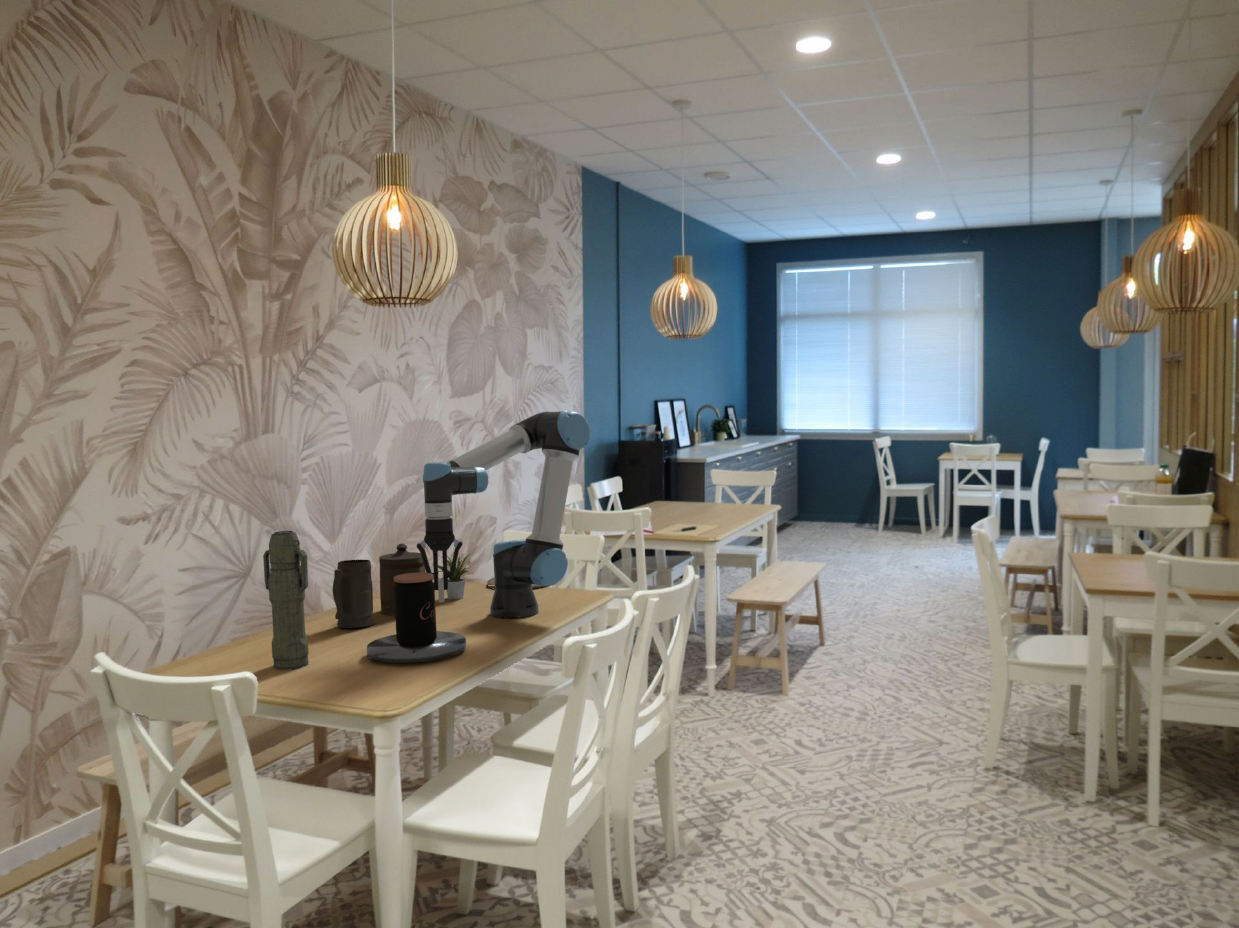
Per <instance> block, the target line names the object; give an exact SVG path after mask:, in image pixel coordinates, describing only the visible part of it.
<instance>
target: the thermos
mask: <svg viewBox="0 0 1239 928" xmlns="http://www.w3.org/2000/svg"><path fill="white" fill-rule="evenodd" d="M262 559H263V575H264V586H265V590H268V599H269V602H270V603H271V616H272V618H271V619H272V620H271V621H272V633H273V634H272V635H273V636H272V641H271V655H272V659H273V669H275V670H277V671H278V670H279V671H288V670H289V669H291V670H296V669H295V668H298V669H301V667H302V668H304V667H303V666H305V667H307V666H308V665H309V664H308V663H309V639H308V636H307V633H306V621H305V608H304V607H305V603H304V601H305V599H306V589H308V588H309V578H308V577H309V576H308V573H309V572H308V554H307V553H306V551H305V550H304V549H301V542H300V539H299V537H298V534H297V532H295V531H293V530H280V531H279V530H278V531H275V532H273V533H271V536H270V538H269V541H268V549H267V550H265V551H264V553H263V558H262ZM306 665H307V666H306ZM289 671H290V670H289Z"/></svg>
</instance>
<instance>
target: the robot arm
mask: <svg viewBox="0 0 1239 928" xmlns="http://www.w3.org/2000/svg"><path fill="white" fill-rule="evenodd" d="M590 438H591V428H590V424H589V423H588V421H587V419H586V418H585V416H584V415H583V414H581V413H579V412H577V411H570V410H562V411H541V412H538V413H536V414H533V415H531V416H529V417H527V418H525V419H523V420H521V421H519V422H517V423H515V424H513V425H511V426H510V427H509V430H508V431H507V432H505V433H502V434H500V435H498V436H497V437H495V438H491V440H489V441H487V442H485V443H483V444H481V445H479V446H477V447H475V448H473V449H471V450H469V451H466V452H465V453H463V454H461V455H459V456H457V457H455V458H453V459H451V460H448V461H438V462H437V461H435V462H427V463H425V464H424V466H423V475H422V483H423V490H424V493H423V494H424V496H423V498H424V517H426V518H425V520H424V523H425V524H424V525H425V528H424V529H425V535H424V537H423V540H421V541H420V542H418V543H416V548H417V549H418V551H419V553H421V556H422V559H423V563H424V566H425V573H432V574H434V579H433V583H434V587H435V591H438V603H445V591H446V590H447V589H448V579H449V577H451V576H453V575H454V572H455V567H456V568H457V562H458V558H459V552H460V550H461V548H462V546H463V541H461V540H459V539H457V538H456V537H455V534H454V527H453V523H454V522H453V518H452V516H453V496H456V495H468V494H475V495H476V494H479V493H483V492H485V491H486V490H487V488H488V486H489V475H488V472H487V470H490V469H492V468H494V467H495V466H497V465H499V464H501V463H502V462H505V461H507V460H508V459H510V458H512V457H514V456H516V455H519V454H527V453H529V452H531V451H533V450H539V449H541V453H542V454H543V455H544V457H545V459H544V462H543V468H542V469H543V471H542V475H541V480H540V485H539V486H540V487H539V492H538V498H537V504H536V509H535V514H534V520H533V524H532V531H531V533H530V535H528V536H527V537H526V538H524V539H515V540H514V539H513V540H507V541H502V542H501V541H500V542H496V543H495V544H494V546H493V550H492V551H493V553H492V557H493V558H492V559H493V575H494V577H493V578H494V579H495V589H494V591H493V595H492V599H491V603H490V606H489V611H490V613H489V614H490V616H492V617H495V618H500V617H506V618H505V619H513V618H512V617H517V618H525V616H526V617H530V616H529V615H531V616H534V615H537V614H538V613H539V604H538V601H537V598H536V595H535V592H534V589H532V584H535V585H538V586H549V587H552V586H555V585H558V583H559V582H561V581H562V579H564V577H565V575H566V573H567V570H568V562H569V561H568V557H567V555H566V553H565V552H564V551H563V549H564V543H563V542H562V540H561V531H562V525H563V520H564V515H565V508H566V503H567V497H568V491H569V487H570V481H571V474H572V469H573V462H574V461H576V460H577V459H579V457H580V452H581V450H582V449H584V448H585V447H586V446H587V445H588V444H589V441H590ZM453 543H454V544H453ZM452 544H453V547H454V551H453V552H454V555H452V560H451V561H452V564H451V568H449V567H448V565H447V560H448V557H447V556H448V550H449V549H450V547H451V546H452ZM426 545H427V546H428V547H429V549H430V550H431V551H432V564H433V565H432V567H433V572H432V569H431V566H430V563H429V559H428V556H427V551H426ZM440 551H441V552H442V553H441V554H442V555H441V557H442V558H441V559H442V567H443V572H442V577H439V572H438V571H439V568H438V565H439V558H438V557H439V555H438V554H439V553H438V552H440ZM449 569H450V570H449ZM448 570H449V571H450V572H448ZM507 617H509V618H507ZM510 617H511V618H510Z"/></svg>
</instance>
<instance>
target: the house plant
mask: <svg viewBox="0 0 1239 928" xmlns="http://www.w3.org/2000/svg"><path fill="white" fill-rule="evenodd" d="M473 554H475V552H473V553H469V554H467V555H466V556H465V553H464V554H462V556H465V557H464V558H463V559H461V558H462V556H458V558H457V562H456V567H455V572H454V575H453V576H451V577H449V578H448V589H447V590H445V591H446V594H447V599H448V600H452V599H454V600H453V601H455V599H456V600H461V599H463V598H464V594H465V586H466V579H465V578H462V577H461V576H462V575H464V574H466V573H469V570H471V569H470V567H469V568H468V567H467V568H466V567H464V566H465V564H466V563H467V562H468V559H469V558H470V556H471V555H473ZM453 555H454V551H453ZM453 555H452V556H453ZM438 557H439V558H440V559H443V558H442V556H441V555H440V556H439V555H438ZM451 564H452V560H451V558H450V557H449V556H448V555H447V567H448V572H450V569H451ZM431 565H432V566H433V563H432V564H431ZM463 567H464V568H463ZM468 569H469V570H468ZM441 572H442V573H443V565H439V564H438V573H441Z"/></svg>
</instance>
